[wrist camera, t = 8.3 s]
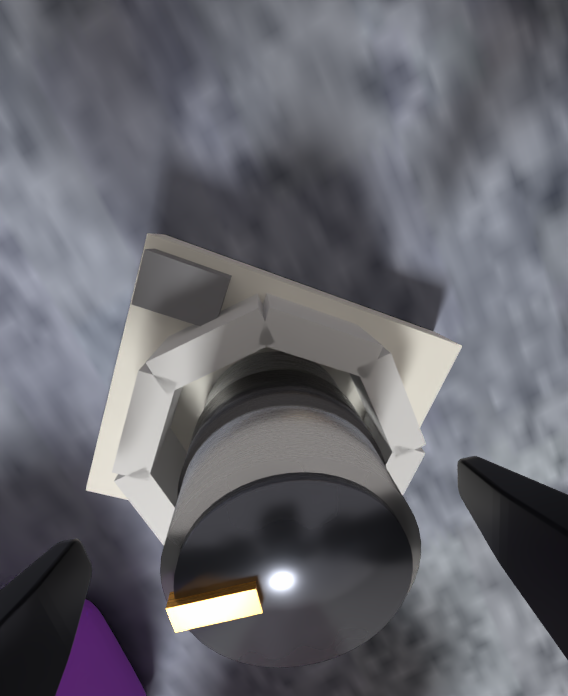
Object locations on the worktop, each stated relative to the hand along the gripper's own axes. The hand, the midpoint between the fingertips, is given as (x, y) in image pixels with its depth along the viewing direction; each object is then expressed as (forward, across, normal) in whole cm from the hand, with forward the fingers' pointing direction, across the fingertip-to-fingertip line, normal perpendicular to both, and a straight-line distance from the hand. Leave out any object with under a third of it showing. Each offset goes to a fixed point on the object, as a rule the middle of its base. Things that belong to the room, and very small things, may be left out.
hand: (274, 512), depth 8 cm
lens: (+4, 0, 0) cm, 5 cm away
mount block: (+6, 0, 0) cm, 7 cm away
